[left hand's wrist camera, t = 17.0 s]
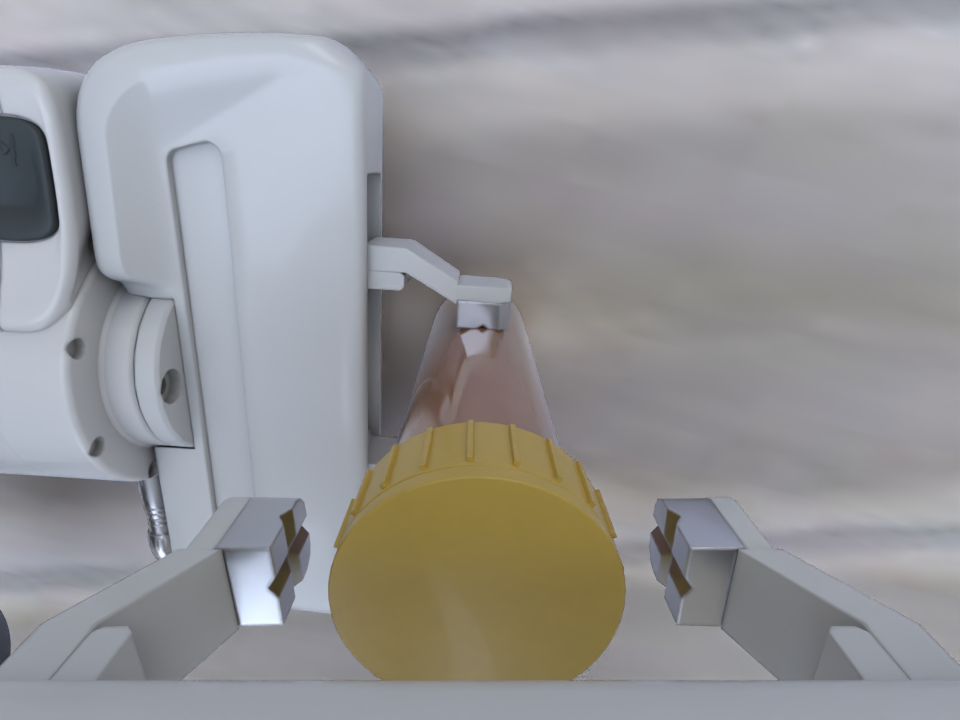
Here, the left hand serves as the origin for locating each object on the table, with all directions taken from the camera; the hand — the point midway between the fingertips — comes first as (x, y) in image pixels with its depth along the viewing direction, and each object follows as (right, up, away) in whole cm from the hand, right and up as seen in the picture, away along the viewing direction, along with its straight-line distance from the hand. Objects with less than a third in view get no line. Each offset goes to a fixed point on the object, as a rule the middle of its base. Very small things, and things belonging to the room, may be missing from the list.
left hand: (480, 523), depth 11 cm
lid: (0, -1, -2) cm, 2 cm away
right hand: (+1, +3, +8) cm, 8 cm away
